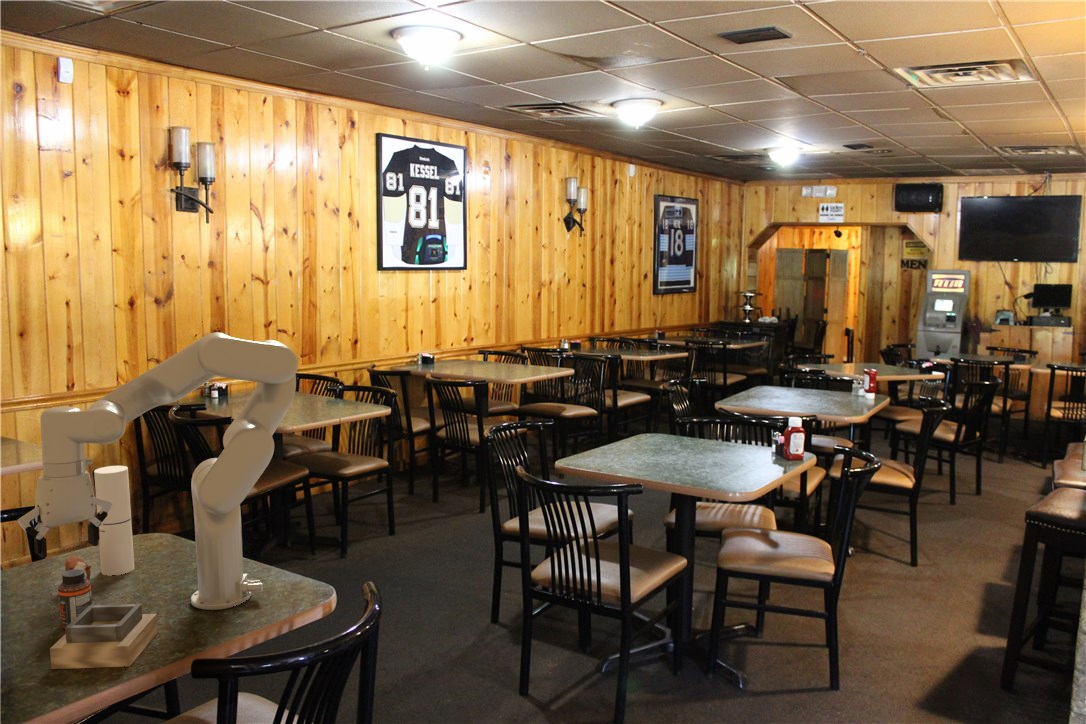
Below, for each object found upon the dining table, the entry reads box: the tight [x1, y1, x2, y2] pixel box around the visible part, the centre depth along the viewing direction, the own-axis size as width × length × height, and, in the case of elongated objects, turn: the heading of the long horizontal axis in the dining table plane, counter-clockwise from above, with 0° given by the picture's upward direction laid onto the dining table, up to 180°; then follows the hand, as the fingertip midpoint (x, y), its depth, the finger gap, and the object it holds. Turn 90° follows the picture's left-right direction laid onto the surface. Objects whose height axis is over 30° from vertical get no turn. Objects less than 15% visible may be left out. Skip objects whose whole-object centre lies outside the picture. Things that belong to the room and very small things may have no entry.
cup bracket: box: [49, 603, 159, 670], centre depth 163 cm, size 14×14×7 cm
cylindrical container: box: [93, 465, 135, 577], centre depth 202 cm, size 7×7×25 cm
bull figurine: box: [64, 554, 93, 596], centre depth 190 cm, size 4×13×8 cm, turn 36°
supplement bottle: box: [57, 569, 93, 630], centre depth 174 cm, size 6×6×11 cm
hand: (68, 550), depth 172 cm, fingers open, 9 cm apart
